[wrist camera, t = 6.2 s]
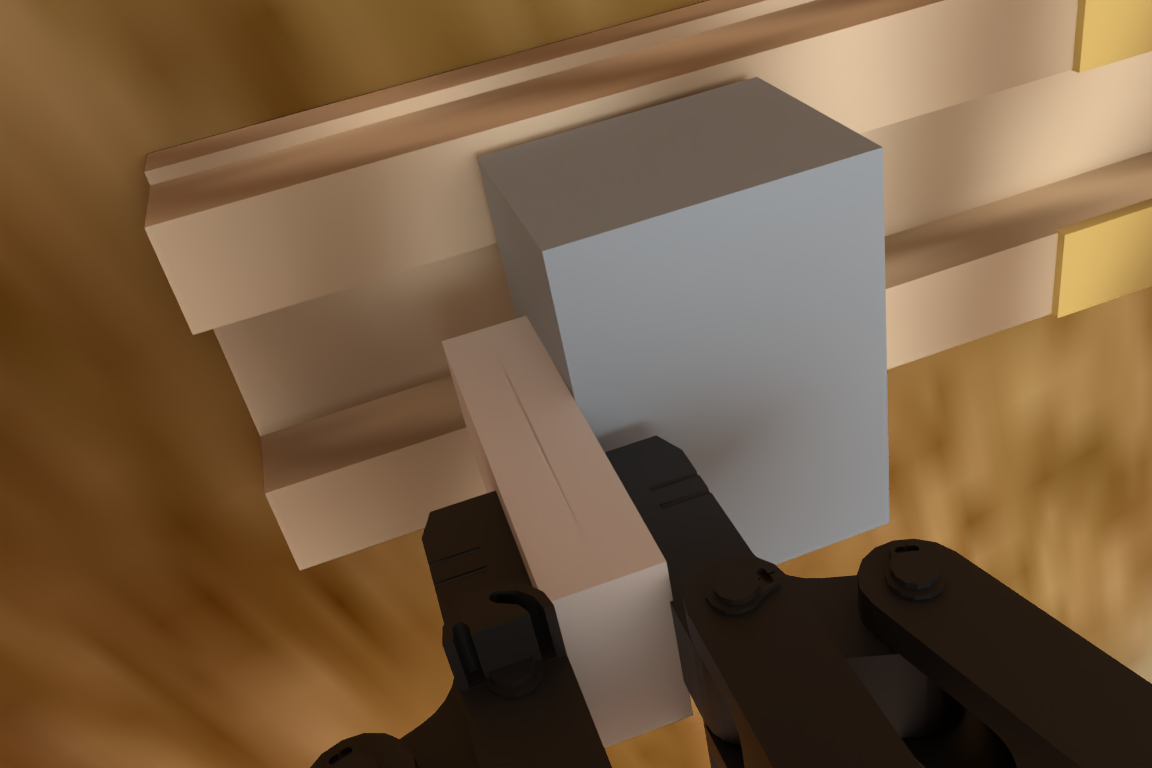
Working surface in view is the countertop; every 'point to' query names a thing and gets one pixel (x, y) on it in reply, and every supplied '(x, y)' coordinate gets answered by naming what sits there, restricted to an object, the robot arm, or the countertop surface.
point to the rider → (716, 298)
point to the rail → (604, 91)
